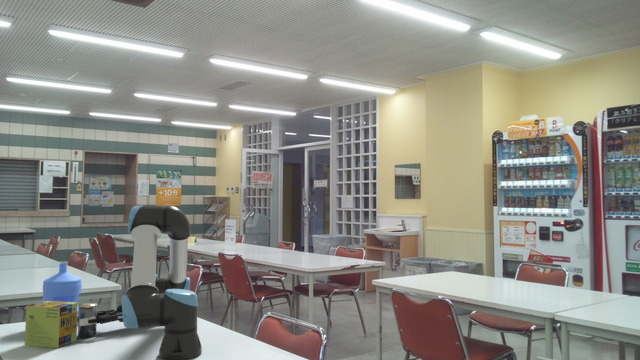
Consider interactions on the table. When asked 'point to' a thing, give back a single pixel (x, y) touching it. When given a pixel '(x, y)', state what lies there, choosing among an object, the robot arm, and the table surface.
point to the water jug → (62, 287)
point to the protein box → (51, 324)
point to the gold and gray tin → (87, 312)
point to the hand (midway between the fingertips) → (75, 321)
